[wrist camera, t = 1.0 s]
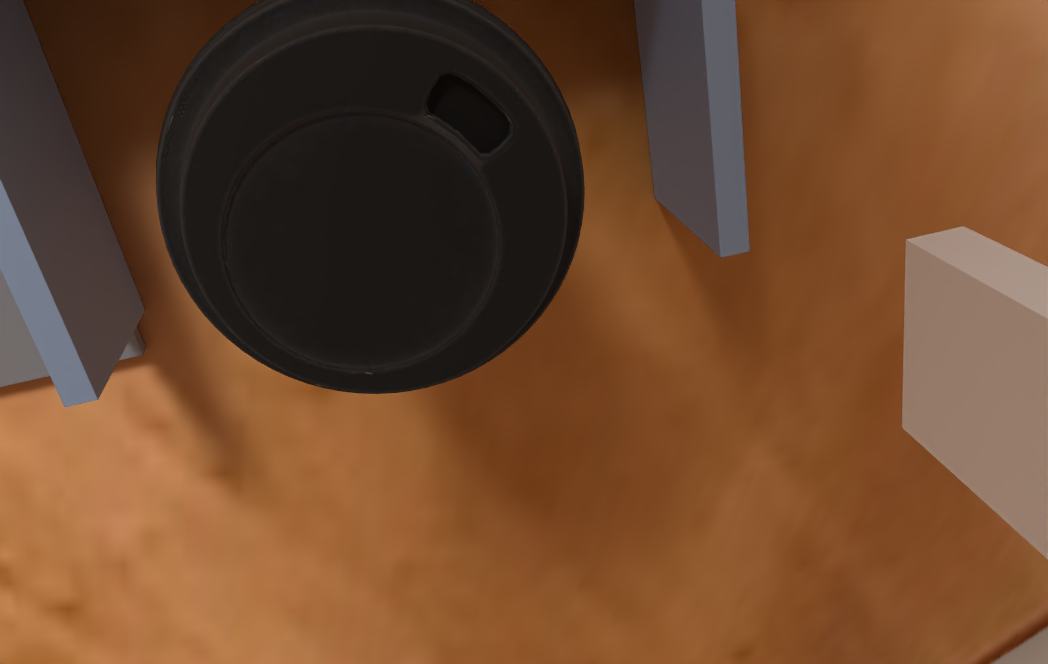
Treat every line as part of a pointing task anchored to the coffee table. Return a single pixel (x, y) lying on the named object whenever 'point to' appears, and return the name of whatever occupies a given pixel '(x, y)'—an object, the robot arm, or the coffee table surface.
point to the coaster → (31, 343)
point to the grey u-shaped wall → (102, 272)
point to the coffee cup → (369, 189)
